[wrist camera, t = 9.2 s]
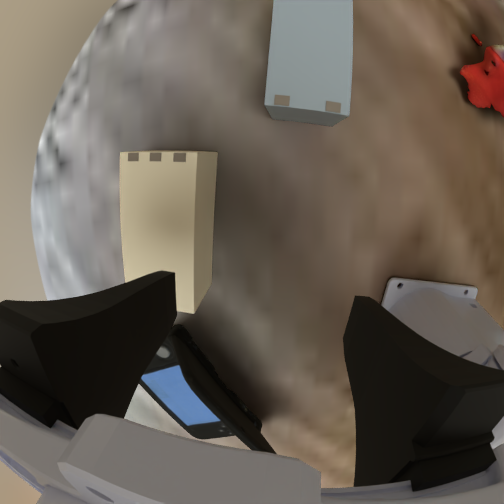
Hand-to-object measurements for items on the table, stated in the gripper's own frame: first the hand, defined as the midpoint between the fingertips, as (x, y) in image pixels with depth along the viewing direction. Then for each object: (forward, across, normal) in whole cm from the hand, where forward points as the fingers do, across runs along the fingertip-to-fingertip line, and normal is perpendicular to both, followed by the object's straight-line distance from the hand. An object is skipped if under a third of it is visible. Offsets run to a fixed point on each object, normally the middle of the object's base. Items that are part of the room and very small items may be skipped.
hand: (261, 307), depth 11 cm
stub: (+10, -1, -12) cm, 16 cm away
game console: (+10, +5, +16) cm, 20 cm away
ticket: (+10, +7, 0) cm, 12 cm away
